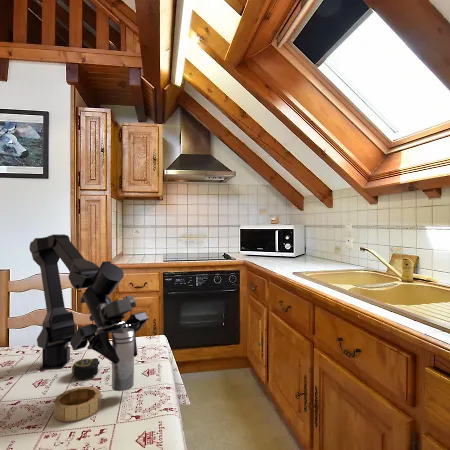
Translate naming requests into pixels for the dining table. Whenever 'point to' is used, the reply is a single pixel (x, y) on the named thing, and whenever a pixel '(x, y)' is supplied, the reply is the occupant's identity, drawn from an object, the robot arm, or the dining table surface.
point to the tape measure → (85, 368)
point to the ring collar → (77, 404)
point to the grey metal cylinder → (123, 359)
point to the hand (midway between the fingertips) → (126, 359)
